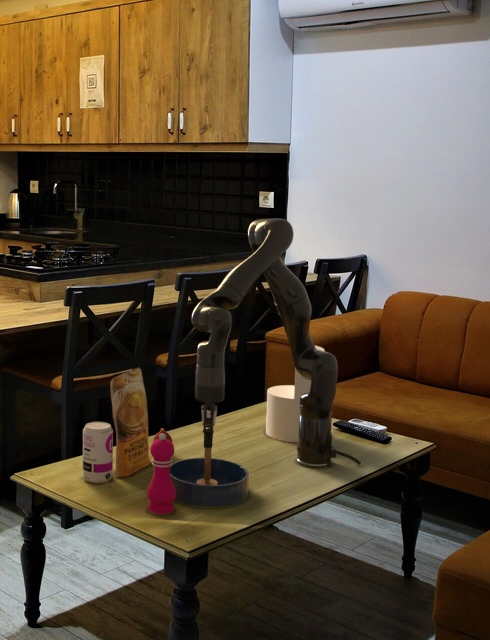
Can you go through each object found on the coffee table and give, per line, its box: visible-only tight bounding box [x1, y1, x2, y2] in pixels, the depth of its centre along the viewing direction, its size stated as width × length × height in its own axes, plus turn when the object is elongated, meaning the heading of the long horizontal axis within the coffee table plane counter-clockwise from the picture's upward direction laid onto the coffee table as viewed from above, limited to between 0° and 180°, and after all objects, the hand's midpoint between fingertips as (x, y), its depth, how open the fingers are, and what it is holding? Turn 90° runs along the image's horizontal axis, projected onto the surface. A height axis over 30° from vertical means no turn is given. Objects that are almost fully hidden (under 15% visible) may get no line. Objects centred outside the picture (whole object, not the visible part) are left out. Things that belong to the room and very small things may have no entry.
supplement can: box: [82, 421, 114, 484], centre depth 240 cm, size 8×8×15 cm
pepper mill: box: [146, 433, 176, 515], centre depth 218 cm, size 7×7×20 cm
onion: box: [152, 428, 174, 444], centre depth 261 cm, size 6×6×8 cm
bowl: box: [170, 457, 250, 508], centre depth 231 cm, size 21×21×6 cm
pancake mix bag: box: [109, 367, 151, 478], centre depth 247 cm, size 7×19×28 cm, turn 145°
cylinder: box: [265, 344, 326, 443], centre depth 281 cm, size 17×17×28 cm
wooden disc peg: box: [196, 427, 218, 485], centre depth 230 cm, size 6×6×17 cm
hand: (208, 442), depth 230 cm, fingers open, 8 cm apart
